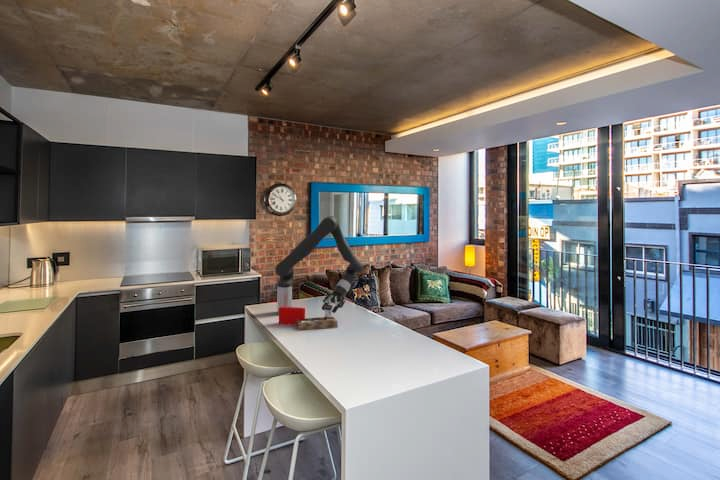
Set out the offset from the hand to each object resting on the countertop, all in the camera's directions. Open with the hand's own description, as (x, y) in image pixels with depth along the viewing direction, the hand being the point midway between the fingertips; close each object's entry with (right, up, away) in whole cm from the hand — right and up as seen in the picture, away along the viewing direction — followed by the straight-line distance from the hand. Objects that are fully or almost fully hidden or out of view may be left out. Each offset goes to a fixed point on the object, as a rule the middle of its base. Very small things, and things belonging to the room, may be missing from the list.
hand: (327, 310), depth 218 cm
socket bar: (-6, -8, -2) cm, 10 cm away
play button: (-21, -8, +1) cm, 23 cm away
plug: (0, -8, +2) cm, 8 cm away
